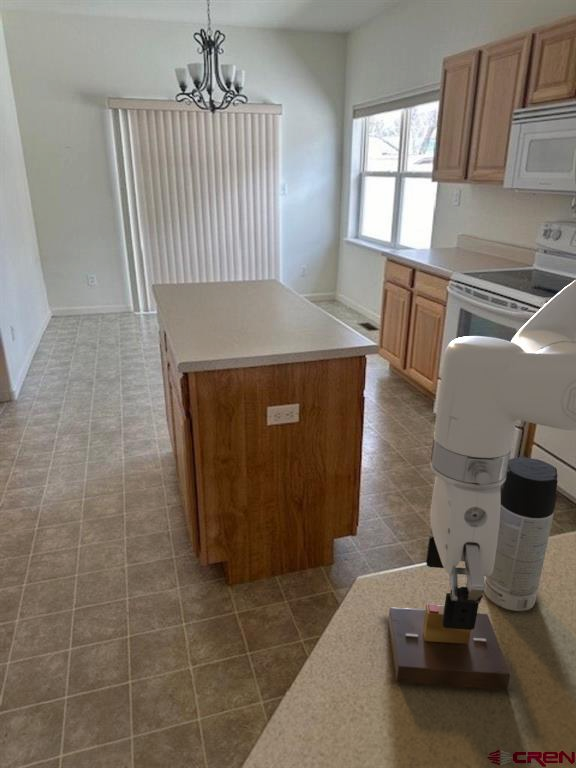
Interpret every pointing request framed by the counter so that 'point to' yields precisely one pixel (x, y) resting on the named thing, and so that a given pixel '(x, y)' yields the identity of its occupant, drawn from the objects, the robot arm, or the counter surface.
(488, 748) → the counter surface
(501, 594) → the spray can
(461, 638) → the block
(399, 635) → the plate
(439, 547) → the robot arm
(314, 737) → the counter surface
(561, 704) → the counter surface
